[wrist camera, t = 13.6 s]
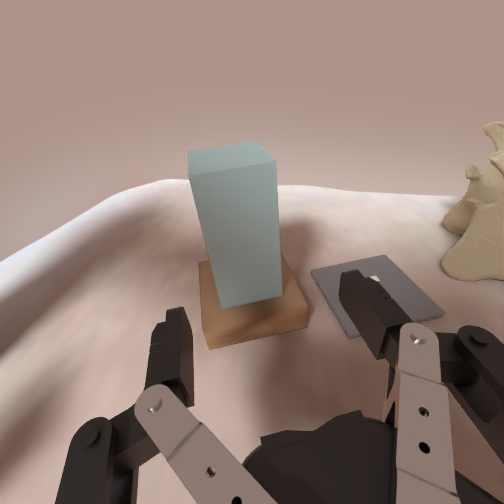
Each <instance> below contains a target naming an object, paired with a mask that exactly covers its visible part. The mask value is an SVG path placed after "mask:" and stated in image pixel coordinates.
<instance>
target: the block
mask: <svg viewBox="0 0 504 504" xmlns="http://www.w3.org/2000/svg"><path fill="white" fill-rule="evenodd" d="M188 176H189V180H190V184H191V188H192V192H193V196H194V200H195V204H196V208H197V212H198V216H199V220H200V224H201V228H202V232H203V236H204V240H205V244H206V248H207V252H208V256H209V260H210V264H211V268H212V272H213V276H214V280H215V284H216V288H217V292H218V296H219V300H220V304H221V308H222V309H224V308H229V307H233V306H238V305H243V304H247V303H252V302H257V301H261V300H266V299H270V298H275V297H280V296H283V293H282V273H281V253H280V232H279V212H278V192H277V172H276V160H275V159H274V158H273V157H272V156H271V155H270V154H269V153H268V152H267V150H266V149H265V148H264V147H263V146H262V145H261V144H260V142H259V141H252V142H246V143H239V144H233V145H227V146H220V147H214V148H208V149H201V150H195V151H189V152H188Z"/></svg>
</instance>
